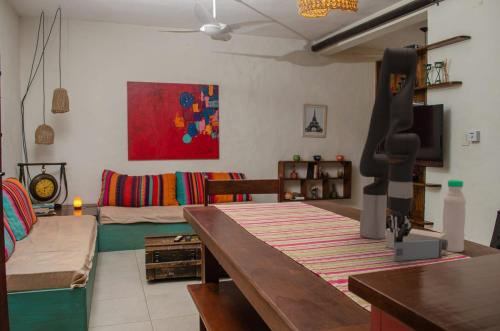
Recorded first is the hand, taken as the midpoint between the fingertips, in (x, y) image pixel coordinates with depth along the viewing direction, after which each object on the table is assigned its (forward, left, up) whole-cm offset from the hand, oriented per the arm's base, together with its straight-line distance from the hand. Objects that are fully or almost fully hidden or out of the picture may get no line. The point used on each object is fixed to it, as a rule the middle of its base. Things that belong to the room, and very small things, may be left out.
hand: (398, 247), depth 131 cm
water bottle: (+10, +24, -4) cm, 27 cm away
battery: (-19, +45, -4) cm, 49 cm away
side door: (+6, +4, -3) cm, 7 cm away
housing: (0, +15, -4) cm, 16 cm away
